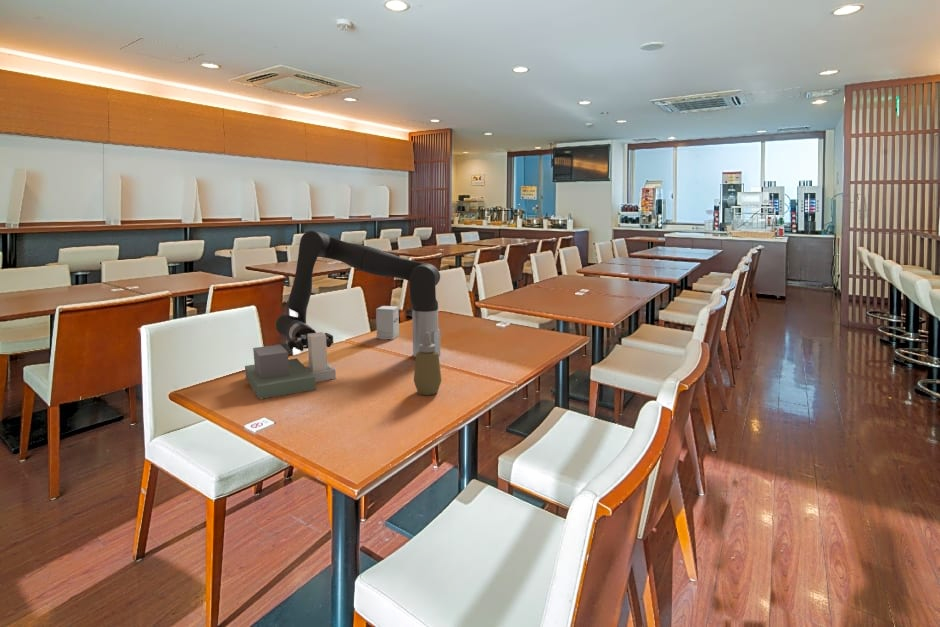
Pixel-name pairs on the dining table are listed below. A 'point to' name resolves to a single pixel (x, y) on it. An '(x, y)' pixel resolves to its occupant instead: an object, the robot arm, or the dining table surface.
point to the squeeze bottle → (427, 368)
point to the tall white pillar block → (317, 352)
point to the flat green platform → (281, 373)
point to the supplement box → (387, 322)
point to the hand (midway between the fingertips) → (315, 345)
